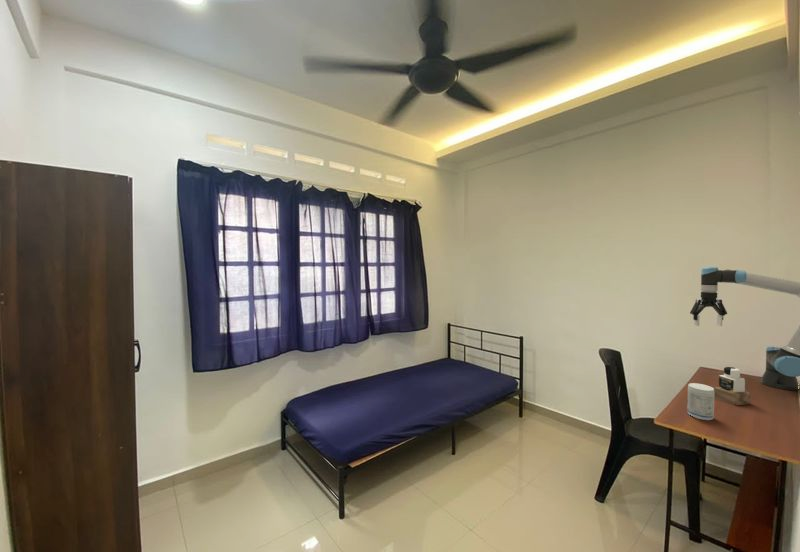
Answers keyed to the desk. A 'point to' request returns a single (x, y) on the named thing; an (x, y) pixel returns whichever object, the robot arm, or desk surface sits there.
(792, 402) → the desk surface
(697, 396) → the supplement tub
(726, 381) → the medicine bottle
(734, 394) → the walnut block
